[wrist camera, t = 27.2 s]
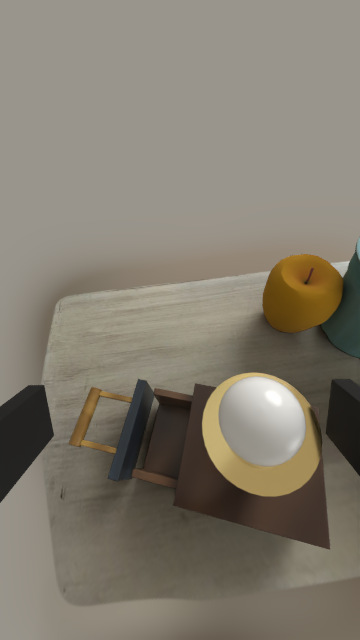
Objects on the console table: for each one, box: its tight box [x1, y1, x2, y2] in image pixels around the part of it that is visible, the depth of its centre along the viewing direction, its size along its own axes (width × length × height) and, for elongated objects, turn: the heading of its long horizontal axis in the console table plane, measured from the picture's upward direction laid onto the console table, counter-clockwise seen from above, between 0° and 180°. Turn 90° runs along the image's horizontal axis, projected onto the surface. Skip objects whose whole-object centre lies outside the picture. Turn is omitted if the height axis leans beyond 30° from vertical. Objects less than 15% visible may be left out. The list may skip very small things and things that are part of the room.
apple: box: [262, 254, 344, 333], centre depth 38 cm, size 11×11×13 cm
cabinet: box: [173, 384, 330, 549], centre depth 29 cm, size 15×13×9 cm
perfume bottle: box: [202, 373, 322, 497], centre depth 17 cm, size 6×6×20 cm
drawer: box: [69, 379, 193, 489], centre depth 31 cm, size 20×11×7 cm, turn 78°
